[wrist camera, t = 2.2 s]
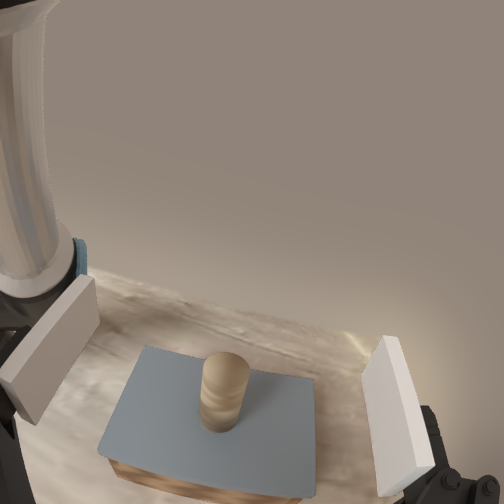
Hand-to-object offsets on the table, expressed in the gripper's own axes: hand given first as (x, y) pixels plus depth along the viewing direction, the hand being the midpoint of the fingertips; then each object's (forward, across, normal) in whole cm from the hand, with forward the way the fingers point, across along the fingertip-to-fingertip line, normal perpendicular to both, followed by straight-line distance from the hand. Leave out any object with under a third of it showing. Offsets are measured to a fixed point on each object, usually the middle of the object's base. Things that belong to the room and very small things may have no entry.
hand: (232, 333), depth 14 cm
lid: (+10, 0, -24) cm, 26 cm away
